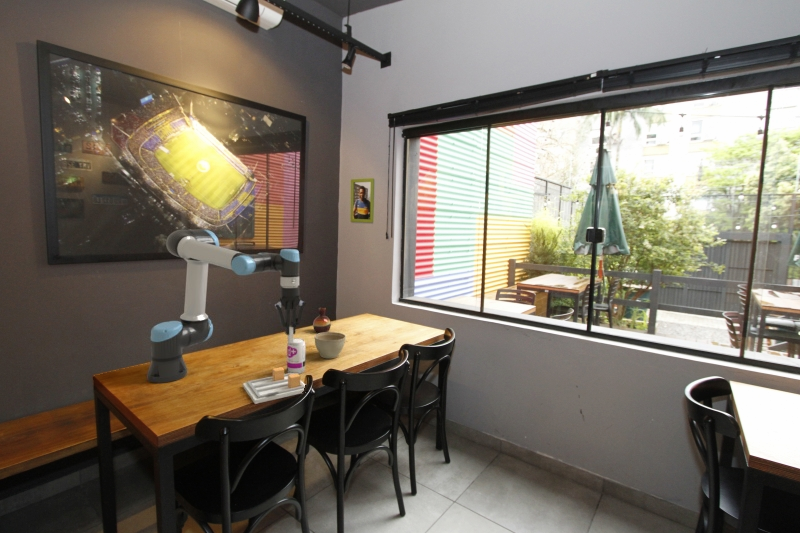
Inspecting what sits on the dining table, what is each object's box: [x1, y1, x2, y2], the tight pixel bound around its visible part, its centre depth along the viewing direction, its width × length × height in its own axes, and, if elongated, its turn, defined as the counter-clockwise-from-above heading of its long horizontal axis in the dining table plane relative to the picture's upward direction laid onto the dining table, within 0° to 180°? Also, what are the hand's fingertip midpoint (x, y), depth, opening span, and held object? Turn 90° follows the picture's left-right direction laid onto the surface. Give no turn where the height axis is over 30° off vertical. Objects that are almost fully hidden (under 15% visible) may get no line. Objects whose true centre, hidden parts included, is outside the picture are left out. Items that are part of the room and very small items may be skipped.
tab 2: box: [288, 373, 301, 388], centre depth 161 cm, size 4×3×5 cm
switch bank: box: [242, 372, 306, 405], centre depth 162 cm, size 22×18×2 cm
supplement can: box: [286, 338, 306, 375], centre depth 180 cm, size 8×8×15 cm
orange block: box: [272, 366, 285, 381], centre depth 167 cm, size 4×3×5 cm
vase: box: [312, 307, 332, 334], centre depth 247 cm, size 11×11×15 cm
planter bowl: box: [314, 331, 346, 359], centre depth 204 cm, size 16×16×11 cm
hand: (290, 341), depth 162 cm, fingers closed
